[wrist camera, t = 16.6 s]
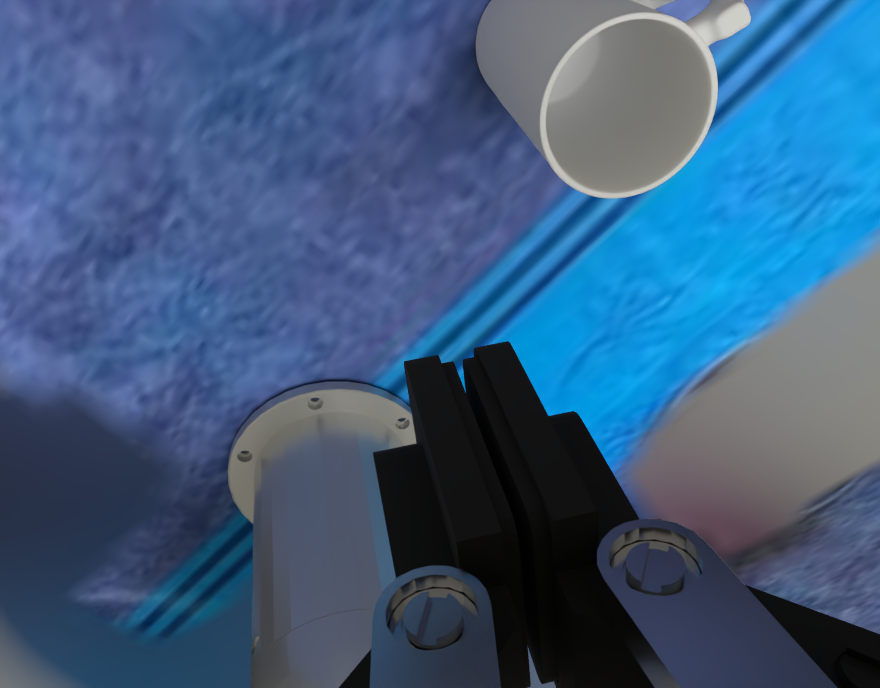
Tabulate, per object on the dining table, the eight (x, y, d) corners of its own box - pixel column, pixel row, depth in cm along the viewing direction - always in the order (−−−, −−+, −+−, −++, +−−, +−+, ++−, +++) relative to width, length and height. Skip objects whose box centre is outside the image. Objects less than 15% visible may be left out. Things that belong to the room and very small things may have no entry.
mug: (511, 136, 42) (589, 231, 32) (442, 23, 38) (505, 90, 28) (682, 18, 40) (821, 79, 30) (626, -112, 36) (763, -92, 26)
